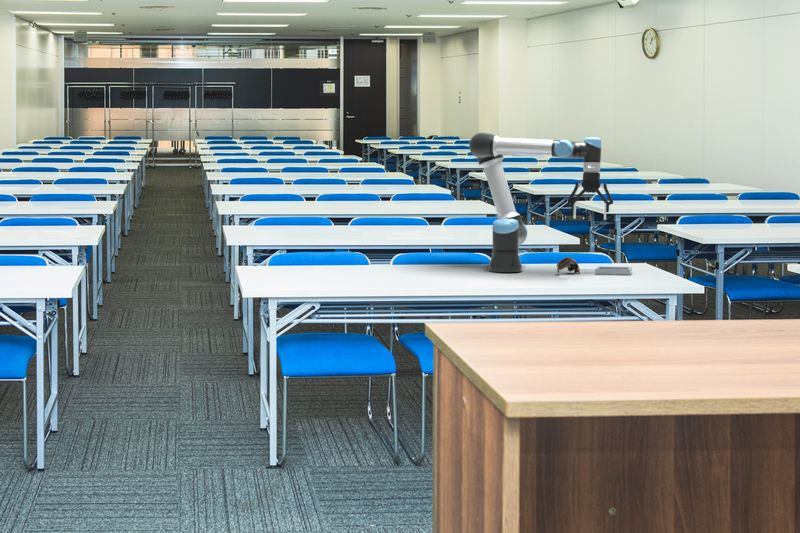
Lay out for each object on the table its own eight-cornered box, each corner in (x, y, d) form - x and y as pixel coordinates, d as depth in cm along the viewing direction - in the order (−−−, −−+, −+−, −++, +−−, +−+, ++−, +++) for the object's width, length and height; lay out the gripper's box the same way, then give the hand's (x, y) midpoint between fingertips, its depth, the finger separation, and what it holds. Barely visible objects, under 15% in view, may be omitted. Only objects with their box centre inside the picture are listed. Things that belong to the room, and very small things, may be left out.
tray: (595, 274, 471) (595, 269, 471) (597, 272, 487) (597, 266, 487) (630, 275, 468) (630, 269, 467) (631, 272, 483) (631, 267, 483)
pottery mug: (581, 274, 471) (572, 258, 470) (562, 284, 474) (553, 268, 473) (582, 267, 483) (573, 251, 481) (563, 276, 485) (554, 260, 484)
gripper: (562, 171, 483) (560, 218, 485) (619, 172, 476) (617, 220, 478) (564, 171, 490) (563, 218, 492) (620, 172, 484) (618, 220, 485)
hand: (589, 219), depth 485 cm, fingers open, 13 cm apart
